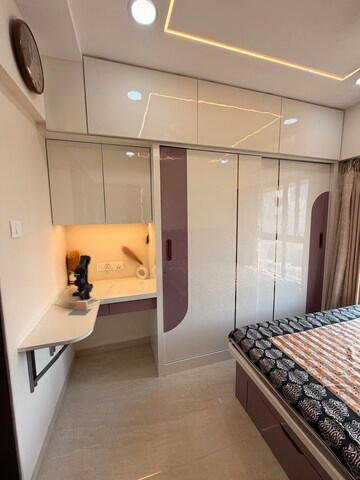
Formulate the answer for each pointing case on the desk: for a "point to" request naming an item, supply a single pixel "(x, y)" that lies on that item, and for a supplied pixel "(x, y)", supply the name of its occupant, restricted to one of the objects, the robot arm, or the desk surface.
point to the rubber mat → (79, 312)
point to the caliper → (90, 302)
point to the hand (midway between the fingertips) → (82, 300)
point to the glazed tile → (81, 305)
